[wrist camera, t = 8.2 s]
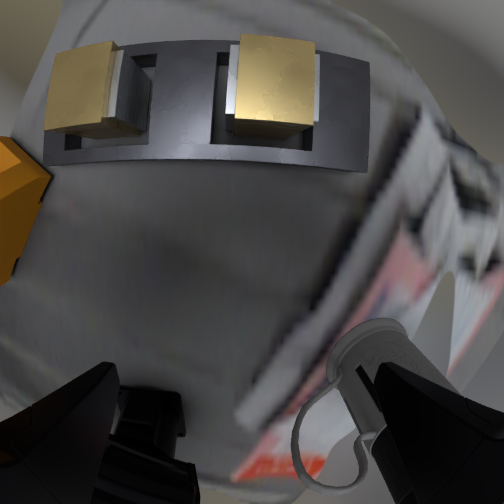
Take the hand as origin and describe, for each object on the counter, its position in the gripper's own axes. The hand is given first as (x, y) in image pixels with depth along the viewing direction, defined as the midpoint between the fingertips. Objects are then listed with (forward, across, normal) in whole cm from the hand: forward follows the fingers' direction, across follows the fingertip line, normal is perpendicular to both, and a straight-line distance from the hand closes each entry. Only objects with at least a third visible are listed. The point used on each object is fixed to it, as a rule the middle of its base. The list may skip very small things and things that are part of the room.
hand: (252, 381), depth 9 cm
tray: (+13, +3, -11) cm, 17 cm away
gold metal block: (+13, -1, -11) cm, 17 cm away
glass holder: (+13, -10, +9) cm, 19 cm away
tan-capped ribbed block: (+13, +9, -11) cm, 19 cm away
